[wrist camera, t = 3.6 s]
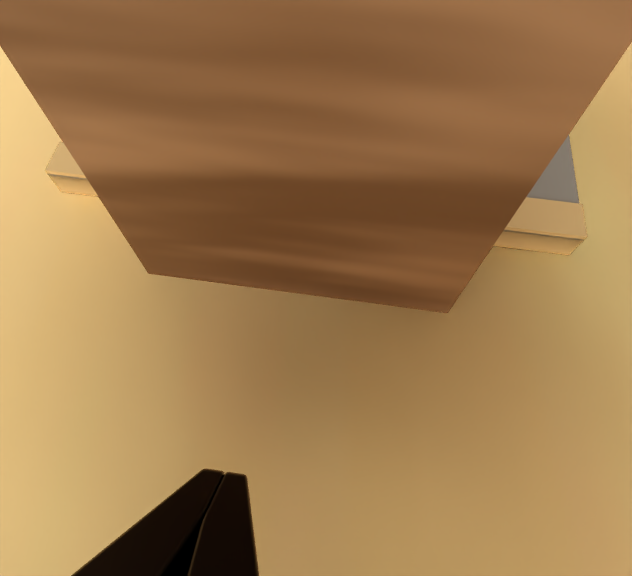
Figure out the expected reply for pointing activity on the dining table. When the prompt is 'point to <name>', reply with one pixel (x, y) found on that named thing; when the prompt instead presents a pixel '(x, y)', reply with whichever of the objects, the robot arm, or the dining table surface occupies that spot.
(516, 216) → the slate floor board
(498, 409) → the dining table surface
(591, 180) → the dining table surface
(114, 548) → the robot arm
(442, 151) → the walnut plank
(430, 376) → the dining table surface
